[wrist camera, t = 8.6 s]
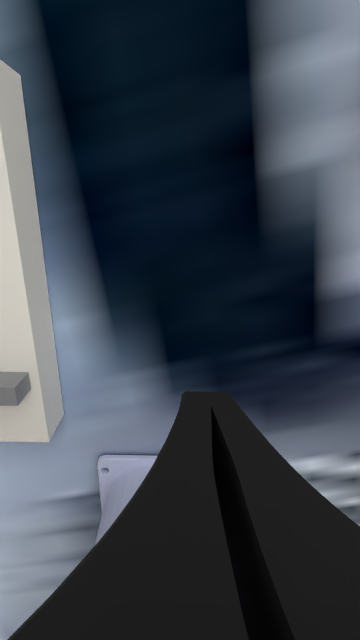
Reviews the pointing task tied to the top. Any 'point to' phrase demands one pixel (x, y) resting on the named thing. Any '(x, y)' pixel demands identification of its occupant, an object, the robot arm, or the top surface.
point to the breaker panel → (23, 287)
